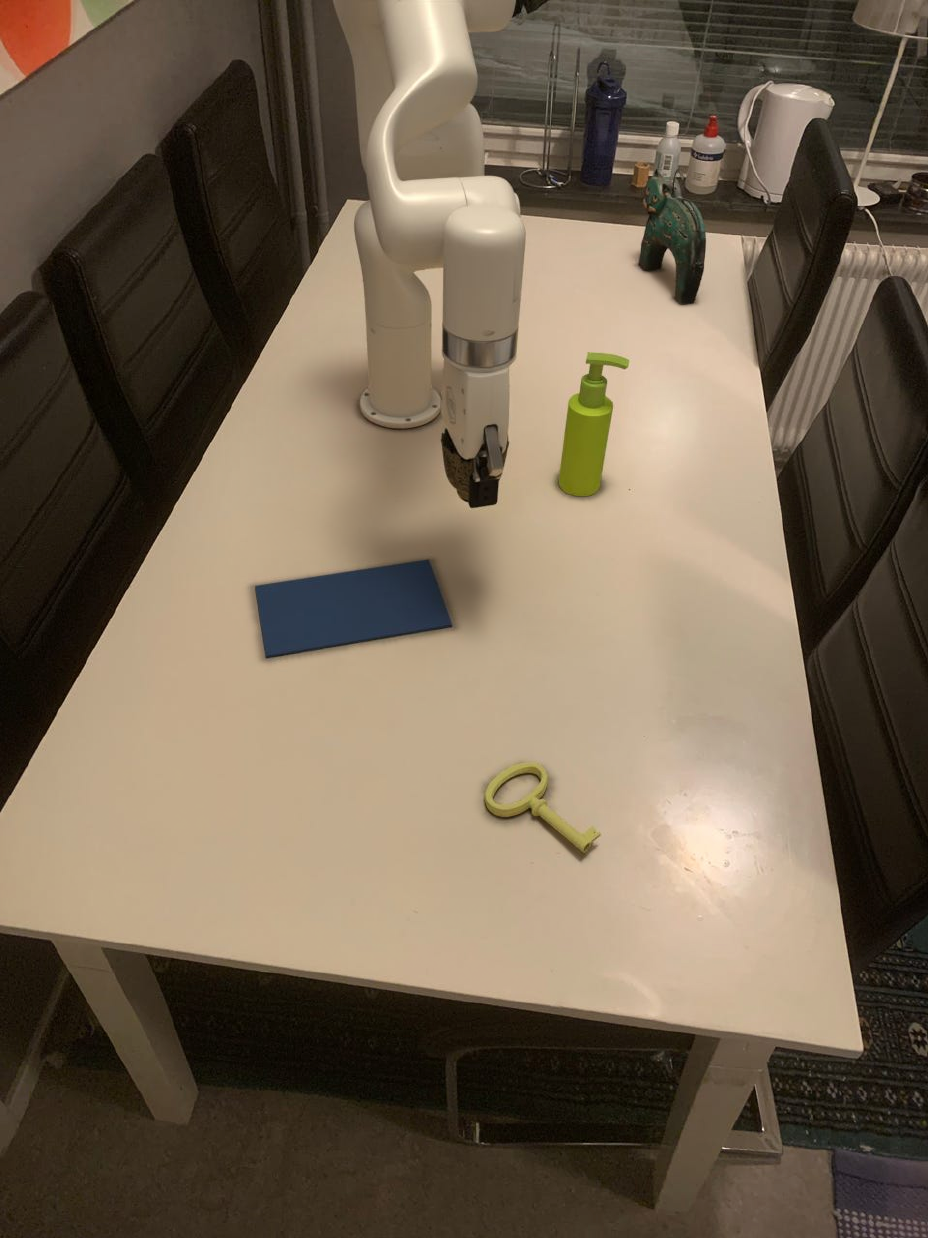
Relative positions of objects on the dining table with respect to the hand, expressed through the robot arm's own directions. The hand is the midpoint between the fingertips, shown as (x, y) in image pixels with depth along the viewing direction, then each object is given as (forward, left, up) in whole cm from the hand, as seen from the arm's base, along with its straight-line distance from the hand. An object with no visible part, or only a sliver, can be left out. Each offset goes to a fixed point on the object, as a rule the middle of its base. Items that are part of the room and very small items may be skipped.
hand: (472, 483), depth 103 cm
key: (+34, -2, -16) cm, 37 cm away
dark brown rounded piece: (0, 0, -2) cm, 2 cm away
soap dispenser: (-16, +21, -16) cm, 31 cm away
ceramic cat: (-73, +59, -16) cm, 95 cm away
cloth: (+1, -15, -16) cm, 22 cm away
